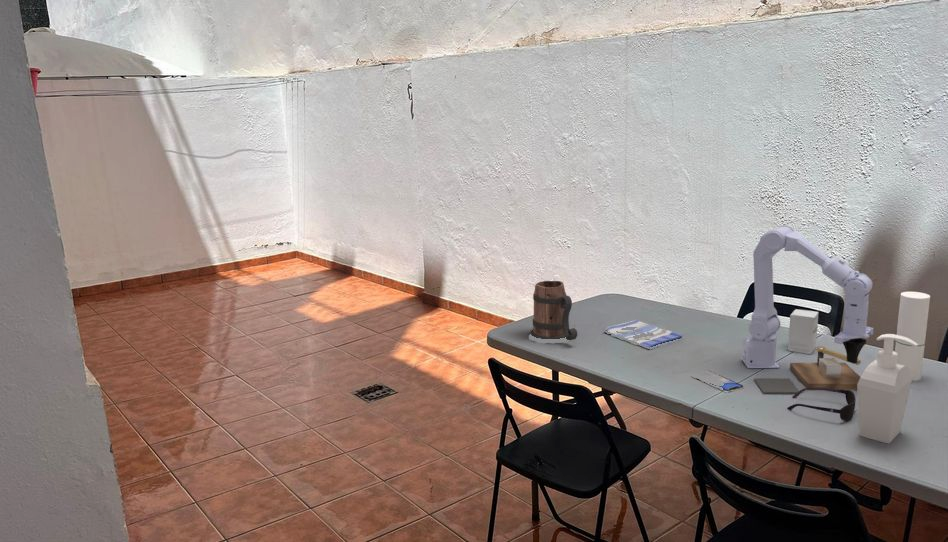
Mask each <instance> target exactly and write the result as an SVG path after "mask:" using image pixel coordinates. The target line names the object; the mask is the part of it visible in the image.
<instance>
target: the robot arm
mask: <svg viewBox="0 0 948 542" xmlns="http://www.w3.org/2000/svg"><path fill="white" fill-rule="evenodd" d="M782 249H783V250H784V252H797V253H799V254H801V255H802V256H804V257H805V258H807V259H808V260H810V261H811V262H813V264H814V263H815V264H816V265H817V266H819V267H821V272H822V274H823V275H824V276H825V277H827V278H828V279H829V280H831V281H832V282H833V283H835V284H836V285H838V286H839V287H841V288H843V292H844V294H845V295H846V296H845V304H844V305H845V306H844V314H843V318H844V319H843V327H842V330H840V332H839V333H838V334H837V335H834V341H833V342H834V343H835V344H838V345H842V346H843V347H844V349H845V353H846V355H847V361H846V362H848V363H851V364H854V363H856V361H857V359H859V355H860V352H861V350H862V349H863V348H864V346H865V345H866V344H867V340H866V339H869V338H870V336H872V335H874V327H870V326H867V324H868V313H869V297H870V294H869V293H870V291H872V288H873V284H874V283H873V281H872V279H871V278H870V277H869V276H868V274H865V273H860V271H859V270H855V269H853V268H852V267H850V266H849V265H847V264H846V260H844V259H843V258H840V259H839V258H838V257H834V258H833V257H832V258H831V257H829V256H828V255H827V254H825V253H824V252H823V251H822V250H820V249H819V248H818V247H817V246H815V245H814V244H813V243H811V242H810V241H809V240H808V239H806V238H805V236H804V235H802V234H801V233H800V232H799V231H798V230H795V229H794V228H792V227H791V226H789V225H781V226H779V227H776V228H774V229H771V230H768V231H767V232H766V233H764V234H763V235H762V236H760V240H759V241H758V244H757V245H756V247H755V249H754V250H753V281H754V282H753V283H754V284H753V285H754V287H753V288H754V310H753V312H752V314H751V318H750V319H751V322H750V324H749V325H748V331H749V334H750V336H747V337H746V336H745V337H744V338H743V341H742V356H741V360H742V362H743V363H744V365H745V366H746V367H747V368H748V369H780V365H779V364H778V362H776V355H777V354H776V351H777V332H778V331H779V330H780V328H781V321H780V318H779V316H778V311H777V309H776V307H775V306H774V279H773V278H774V275H773V273H774V272H773V257H774V256H775V255H777V254H778V253H779V252H780V251H781V250H782ZM854 365H855V364H854Z"/></svg>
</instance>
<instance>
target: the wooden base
mask: <svg viewBox="0 0 948 542" xmlns="http://www.w3.org/2000/svg"><path fill="white" fill-rule="evenodd" d="M824 356H825V354H824V353H820V352H817V362H790V364H789V369H790V371H791V372H792V373H793V374H794V376H795V377H796V378H797V379H798V380H799V382H800V383H801V384H802V385H803V386H804V388H809V387H820V388H833V389H841V390H850V391H857V384H858V382H859V380H860V377H861V376H860V375H859V374H858V373H857V372H856V371H855V370H854V369H853V368H852V367H850V366H849V364H847V363H846V362H838V363H839V364H840V365H841V378H840V379H826V378H825V377H824V376H823V375H822V374H821V373H820V372H819V371H818V369H819V358H825V357H824ZM811 391H814V390H813V389H812V390H811Z"/></svg>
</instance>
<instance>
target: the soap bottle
mask: <svg viewBox="0 0 948 542" xmlns="http://www.w3.org/2000/svg"><path fill="white" fill-rule="evenodd" d="M881 340H884V341H883V349H882V350H878V352H877V358H876V359H874V360H873V361H871V362H870V363H869V364H868V365H867V367H866V368H865V370H864V371H863V373H862V375H861V376H860V380H859V382H858V384H857V390H856V391H857V411H858V414H857V415H858V416H857V417H858V436H860V437H864V438H867V439H870V440H874V441H877V442H881V443H885V444H888V445H890V443H892V441H893V440H894V439H895V438H896V437H897V436H898V434H900V433H901V431H902V430H901V429H902V425H903V420H904V416H905V412H906V409H907V403H908V398H909V394H910V390H911V386H912V382H913V381H912V375H911V372H910V370H909V368H908V367H906V366H903V365H899V364H897V356H898V354H897V353H896V352H895V351H894V343H895V341H896V340H897V341H902V342H905V343H908V344H910V345H912V346H914V347H916V346H917V345H918V344H917V343H916V342H914V341H913V340H911V339H909V338H907V337H903V336H899V335H897V334H894V333H885V334H881V335H879V336H878V337H876V341H881Z"/></svg>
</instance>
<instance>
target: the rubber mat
mask: <svg viewBox="0 0 948 542" xmlns="http://www.w3.org/2000/svg"><path fill="white" fill-rule="evenodd" d="M753 381H754V383H755V384H756V385H757V387H758V388H759V390H760V392H761V393H762V392H763V393H762V394H763V395H795V394H796V393H797V392H799V391H800V389H798V387H797V386H796V385H795V383H793V381H792V380H791V379H790V378H781V377H780V378H776V377H775V378H774V377H773V378H770V377H769V378H768V377H766V378H756V377H755V378H754V377H753Z"/></svg>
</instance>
